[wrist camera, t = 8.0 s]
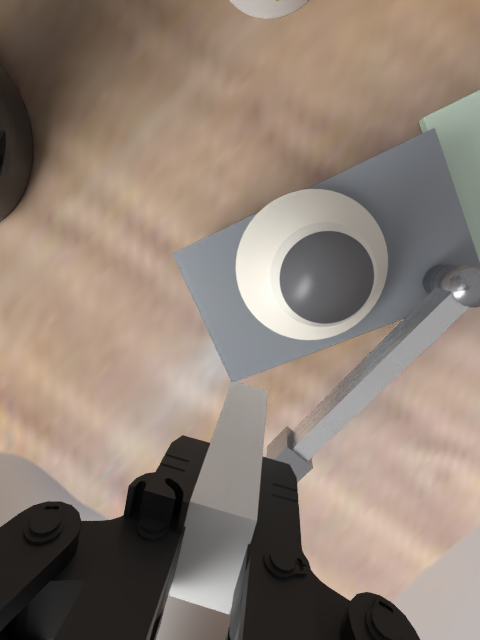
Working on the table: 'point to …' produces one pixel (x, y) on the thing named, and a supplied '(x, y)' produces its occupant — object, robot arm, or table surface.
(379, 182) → the socket block
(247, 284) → the plug
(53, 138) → the table surface
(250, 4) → the cup
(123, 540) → the robot arm
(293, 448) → the record player tonearm
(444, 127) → the mat
